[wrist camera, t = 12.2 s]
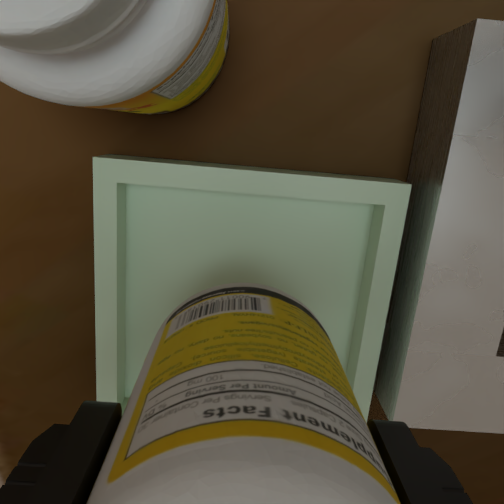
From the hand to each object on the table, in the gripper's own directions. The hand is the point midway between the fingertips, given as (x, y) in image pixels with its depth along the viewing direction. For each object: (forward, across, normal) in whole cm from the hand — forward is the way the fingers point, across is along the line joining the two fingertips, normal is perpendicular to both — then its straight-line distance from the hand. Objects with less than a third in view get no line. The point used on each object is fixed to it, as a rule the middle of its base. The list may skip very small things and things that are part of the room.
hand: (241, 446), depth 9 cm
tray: (+9, 0, 0) cm, 9 cm away
